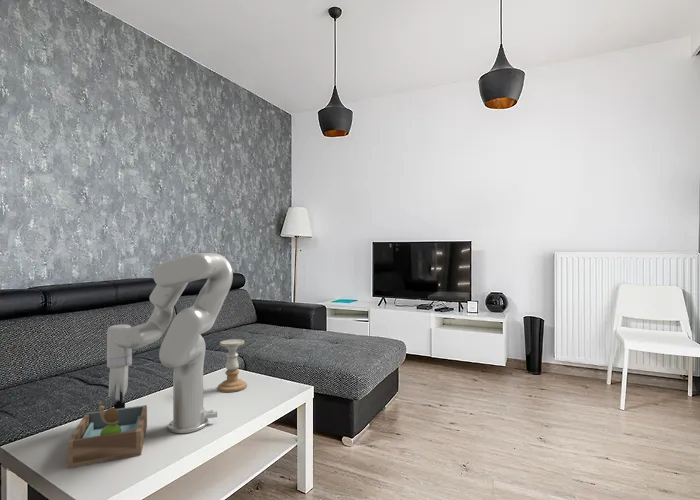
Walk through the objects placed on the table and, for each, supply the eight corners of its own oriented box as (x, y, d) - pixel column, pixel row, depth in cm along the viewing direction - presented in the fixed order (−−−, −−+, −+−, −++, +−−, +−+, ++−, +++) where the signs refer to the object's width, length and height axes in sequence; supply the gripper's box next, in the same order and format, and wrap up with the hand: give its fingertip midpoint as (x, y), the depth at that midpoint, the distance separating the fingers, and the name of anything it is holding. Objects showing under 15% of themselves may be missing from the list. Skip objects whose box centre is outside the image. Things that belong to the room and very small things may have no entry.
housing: (84, 436, 129) (84, 415, 129) (147, 427, 136) (147, 406, 136) (67, 467, 110) (67, 442, 110) (140, 454, 117) (140, 430, 117)
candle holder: (238, 381, 184) (238, 337, 184) (252, 387, 175) (251, 341, 175) (212, 387, 176) (212, 341, 176) (225, 394, 167) (225, 346, 167)
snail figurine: (105, 437, 124) (105, 398, 124) (125, 438, 123) (125, 399, 123) (92, 446, 118) (92, 405, 118) (113, 446, 118) (113, 406, 118)
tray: (86, 430, 130) (86, 413, 130) (146, 421, 137) (146, 404, 137) (70, 458, 113) (70, 437, 113) (141, 446, 119) (140, 427, 120)
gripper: (110, 356, 145) (110, 407, 145) (103, 367, 131) (103, 423, 131) (134, 354, 148) (133, 404, 148) (129, 365, 134) (129, 420, 134)
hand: (119, 413), depth 139 cm, fingers closed
